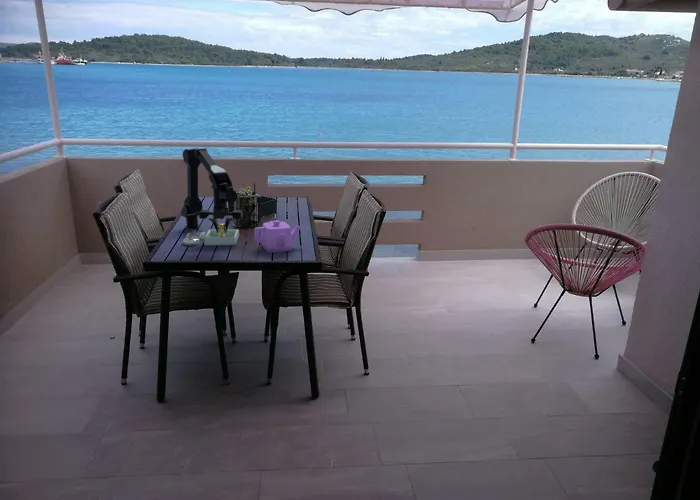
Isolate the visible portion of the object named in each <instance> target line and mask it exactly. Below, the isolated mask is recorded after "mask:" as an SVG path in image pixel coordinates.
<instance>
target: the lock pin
mask: <svg viewBox="0 0 700 500" xmlns="http://www.w3.org/2000/svg"><path fill="white" fill-rule="evenodd" d="M217 223H218V222H217ZM217 227H218V232H219V237H225V228H226V222H225V223H224V222H219V223H218V224H217Z"/></svg>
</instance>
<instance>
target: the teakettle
mask: <svg viewBox="0 0 700 500" xmlns="http://www.w3.org/2000/svg"><path fill="white" fill-rule="evenodd" d="M300 230H301V226H300V225H295V227H294V228H293V229H291V226H290V225H289V224H288V223H287V222H286V221H280V220H278V219H275V220H270V221H269V222H268V221H267V222H263V223H262V226H257V227H254V236H253V239H254V241H255V242H257V243H260V244H261V245H262V248H263V250H264V251H265V252H267V253H281V252H283V253H284V252H291V251H292V250H293V247H294V241H295V239H296V237H297V235H298V233H299V231H300ZM260 232H261V236H260Z"/></svg>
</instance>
